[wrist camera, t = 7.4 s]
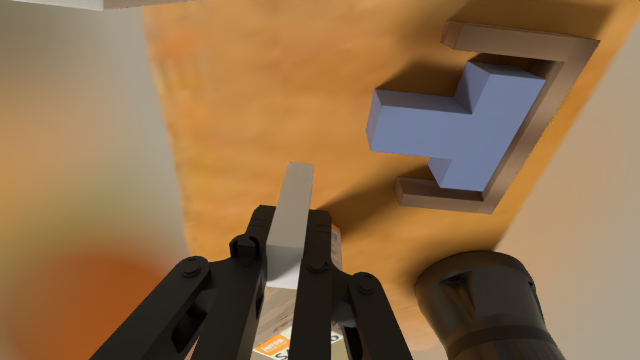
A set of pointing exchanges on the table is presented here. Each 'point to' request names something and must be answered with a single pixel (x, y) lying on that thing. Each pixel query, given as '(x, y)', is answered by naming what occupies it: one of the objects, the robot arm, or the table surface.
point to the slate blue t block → (456, 123)
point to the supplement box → (288, 313)
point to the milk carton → (103, 3)
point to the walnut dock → (560, 74)
